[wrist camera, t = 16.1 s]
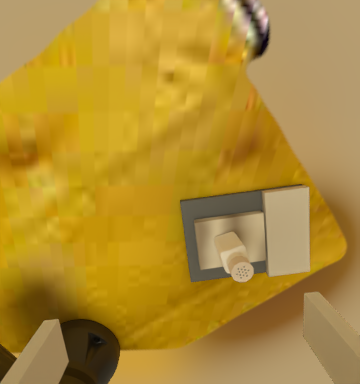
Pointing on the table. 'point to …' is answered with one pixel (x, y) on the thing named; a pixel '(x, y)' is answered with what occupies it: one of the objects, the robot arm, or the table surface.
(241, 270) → the salt shaker
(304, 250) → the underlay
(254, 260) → the plank
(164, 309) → the table surface
